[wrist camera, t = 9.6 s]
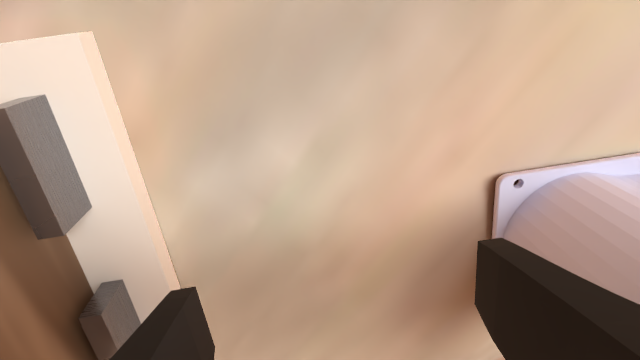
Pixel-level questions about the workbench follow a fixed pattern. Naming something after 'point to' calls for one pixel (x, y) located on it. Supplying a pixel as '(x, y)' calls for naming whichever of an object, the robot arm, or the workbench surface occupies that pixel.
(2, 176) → the brown wooden block
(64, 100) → the cabinet panel
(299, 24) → the workbench surface
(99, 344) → the hinge clips
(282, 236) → the workbench surface
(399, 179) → the workbench surface
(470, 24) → the workbench surface
